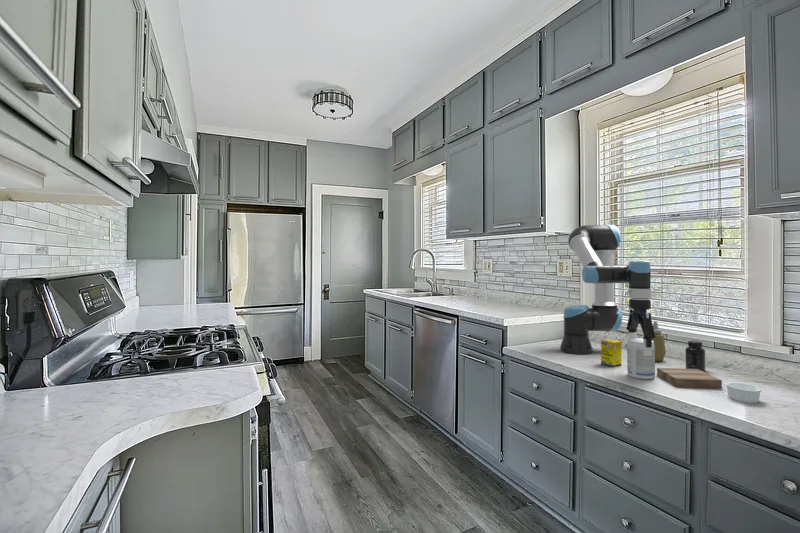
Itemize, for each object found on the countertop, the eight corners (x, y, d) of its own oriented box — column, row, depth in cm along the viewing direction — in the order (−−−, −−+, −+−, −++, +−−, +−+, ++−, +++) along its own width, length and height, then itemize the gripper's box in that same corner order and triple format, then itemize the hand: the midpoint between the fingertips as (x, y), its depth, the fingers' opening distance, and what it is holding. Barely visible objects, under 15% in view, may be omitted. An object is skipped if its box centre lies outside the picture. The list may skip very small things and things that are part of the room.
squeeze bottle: (662, 363, 180) (662, 323, 179) (642, 360, 186) (642, 321, 185) (668, 360, 185) (668, 321, 185) (648, 357, 191) (648, 319, 191)
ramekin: (750, 395, 138) (750, 383, 137) (767, 404, 129) (767, 391, 129) (720, 393, 140) (720, 381, 139) (735, 402, 131) (735, 389, 131)
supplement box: (600, 364, 179) (600, 340, 179) (609, 362, 182) (609, 338, 182) (613, 367, 174) (613, 342, 174) (621, 365, 177) (621, 341, 177)
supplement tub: (659, 377, 159) (659, 340, 159) (647, 381, 154) (647, 343, 154) (634, 371, 167) (634, 336, 167) (622, 375, 162) (622, 339, 162)
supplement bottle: (687, 366, 174) (687, 339, 174) (706, 369, 169) (706, 341, 169) (683, 369, 169) (683, 341, 169) (703, 372, 164) (703, 344, 164)
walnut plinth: (657, 375, 162) (657, 367, 162) (697, 376, 159) (697, 369, 159) (676, 387, 147) (676, 378, 147) (721, 388, 145) (721, 380, 145)
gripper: (617, 296, 173) (618, 345, 173) (643, 301, 148) (643, 358, 148) (636, 296, 172) (636, 345, 172) (665, 301, 147) (665, 359, 147)
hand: (640, 351), depth 160 cm, fingers open, 13 cm apart
